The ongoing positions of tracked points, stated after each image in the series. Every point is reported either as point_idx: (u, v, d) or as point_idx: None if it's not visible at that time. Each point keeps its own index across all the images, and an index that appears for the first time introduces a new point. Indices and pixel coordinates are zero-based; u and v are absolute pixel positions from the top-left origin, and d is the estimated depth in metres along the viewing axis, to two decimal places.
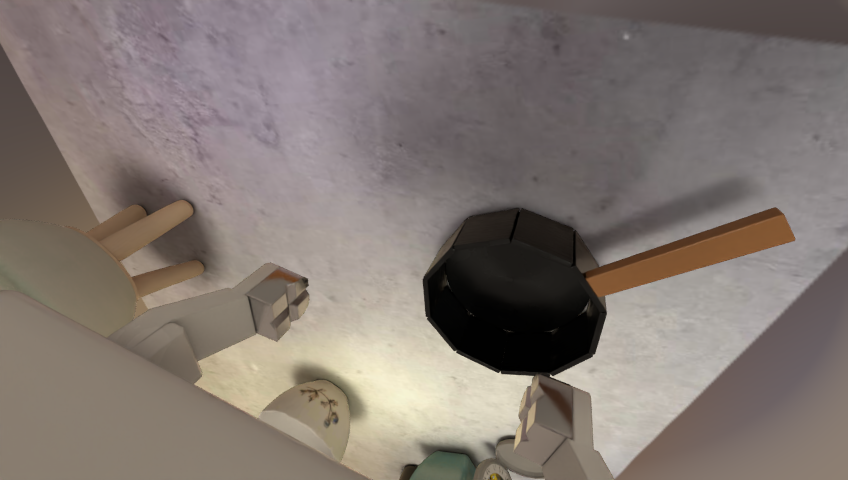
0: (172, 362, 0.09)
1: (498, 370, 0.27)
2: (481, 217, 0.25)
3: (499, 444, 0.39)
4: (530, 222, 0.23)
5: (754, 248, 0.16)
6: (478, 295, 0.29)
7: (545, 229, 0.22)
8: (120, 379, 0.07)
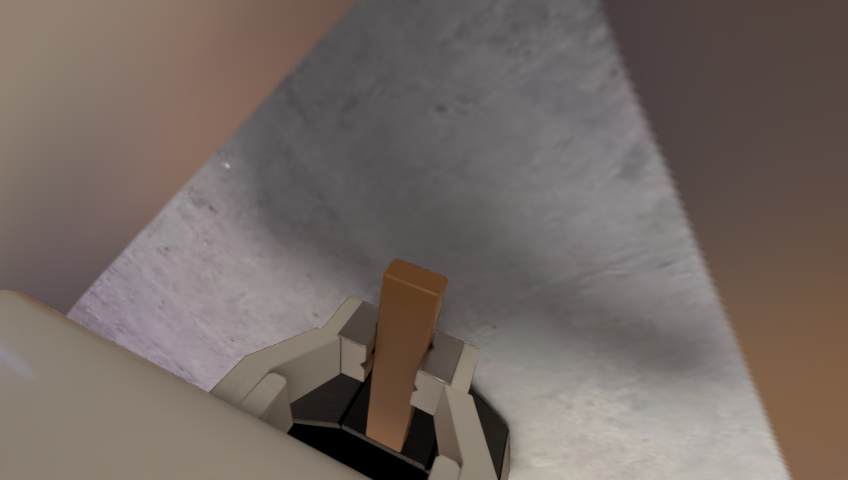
0: (274, 416, 0.08)
1: None
2: None
3: None
4: None
5: (422, 330, 0.09)
6: None
7: None
8: (120, 379, 0.07)
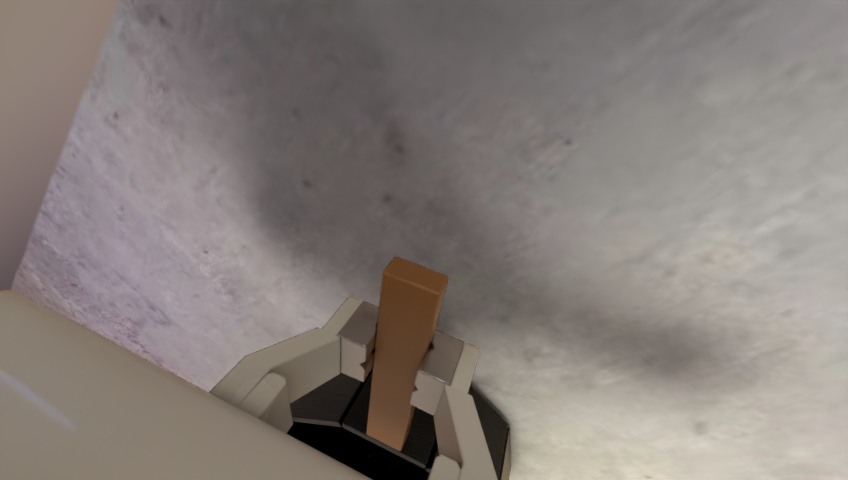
0: (274, 416, 0.08)
1: None
2: None
3: None
4: None
5: (422, 329, 0.09)
6: None
7: None
8: (120, 379, 0.07)
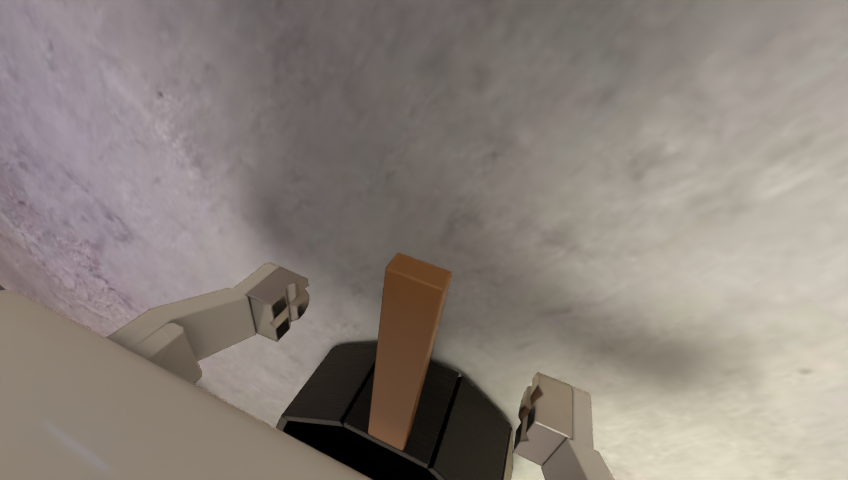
0: (172, 362, 0.09)
1: None
2: None
3: None
4: (328, 367, 0.18)
5: (425, 325, 0.09)
6: None
7: (341, 369, 0.17)
8: (120, 379, 0.07)
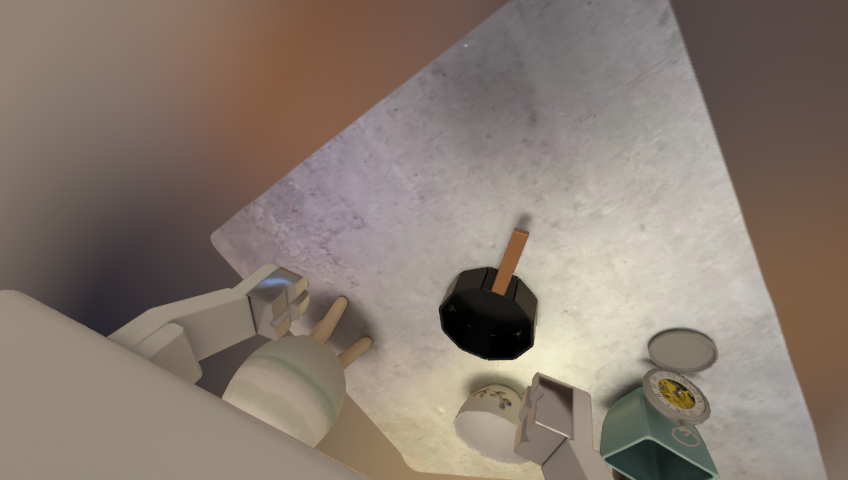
0: (172, 362, 0.09)
1: (512, 358, 0.45)
2: (450, 286, 0.48)
3: None
4: (464, 277, 0.45)
5: (522, 245, 0.36)
6: (485, 322, 0.49)
7: (471, 277, 0.44)
8: (120, 379, 0.07)
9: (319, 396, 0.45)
